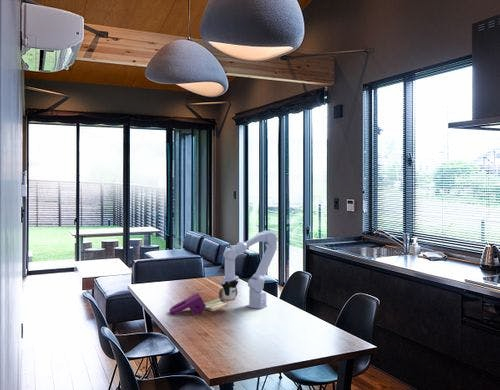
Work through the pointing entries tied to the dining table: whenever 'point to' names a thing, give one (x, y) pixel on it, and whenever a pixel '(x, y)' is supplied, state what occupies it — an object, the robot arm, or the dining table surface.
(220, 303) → the rail
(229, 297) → the white block
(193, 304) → the mounting bracket
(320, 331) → the dining table surface
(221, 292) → the tin
